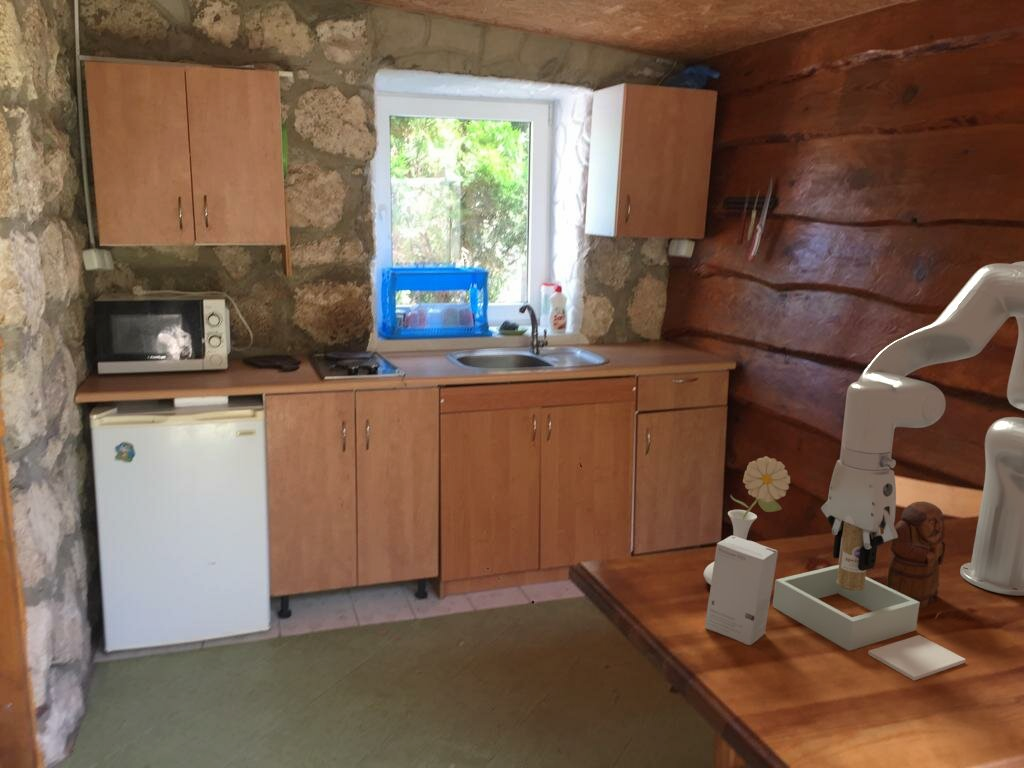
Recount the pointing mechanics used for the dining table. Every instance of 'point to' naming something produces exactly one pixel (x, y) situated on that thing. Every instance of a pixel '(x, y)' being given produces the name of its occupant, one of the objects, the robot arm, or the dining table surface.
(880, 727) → the dining table surface
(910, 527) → the wooden figurine
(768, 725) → the dining table surface
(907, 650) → the mat
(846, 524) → the sprinkles bottle
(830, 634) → the open box
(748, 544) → the skincare box
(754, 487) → the flower in vase
